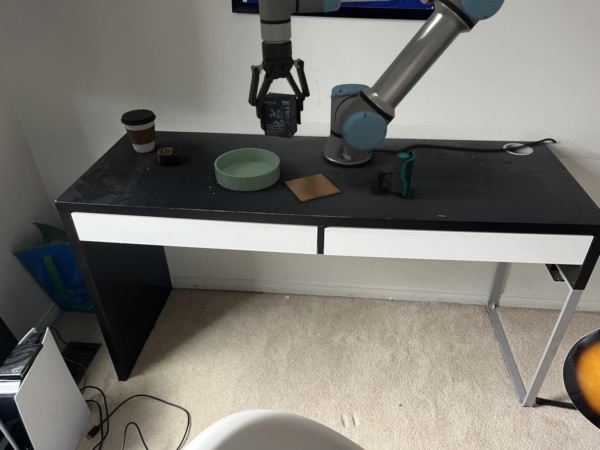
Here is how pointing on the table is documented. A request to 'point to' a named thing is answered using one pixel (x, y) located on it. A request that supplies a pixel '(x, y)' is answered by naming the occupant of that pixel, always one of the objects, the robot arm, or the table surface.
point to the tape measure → (168, 155)
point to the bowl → (247, 169)
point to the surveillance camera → (398, 175)
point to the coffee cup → (140, 129)
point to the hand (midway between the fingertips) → (280, 126)
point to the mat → (312, 187)
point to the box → (281, 114)
